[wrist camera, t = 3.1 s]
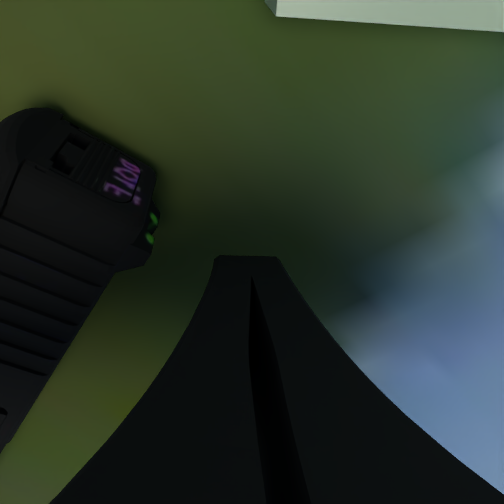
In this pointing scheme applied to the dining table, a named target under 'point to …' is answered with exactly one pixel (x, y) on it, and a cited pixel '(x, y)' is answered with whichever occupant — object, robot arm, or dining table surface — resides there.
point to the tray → (400, 12)
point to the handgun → (60, 243)
